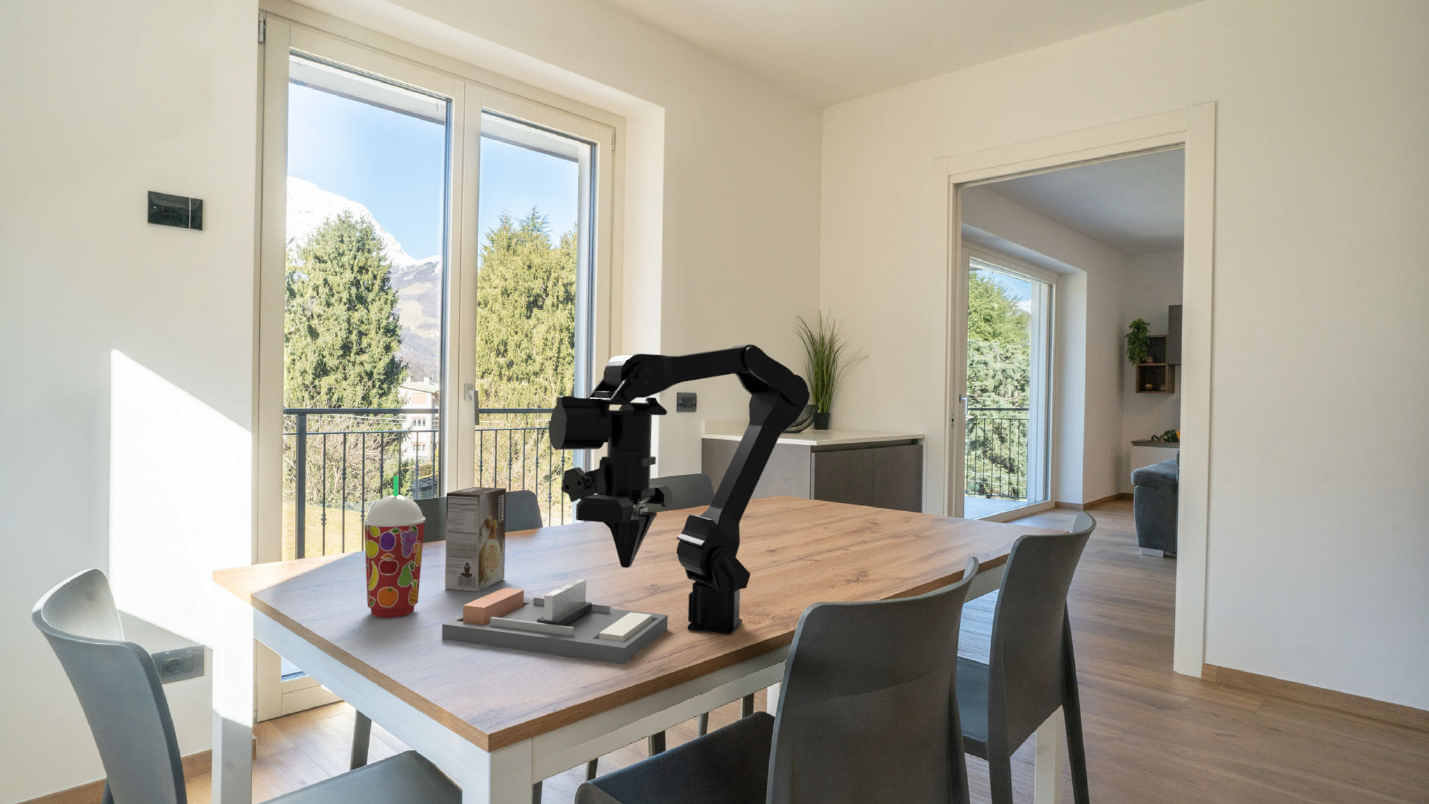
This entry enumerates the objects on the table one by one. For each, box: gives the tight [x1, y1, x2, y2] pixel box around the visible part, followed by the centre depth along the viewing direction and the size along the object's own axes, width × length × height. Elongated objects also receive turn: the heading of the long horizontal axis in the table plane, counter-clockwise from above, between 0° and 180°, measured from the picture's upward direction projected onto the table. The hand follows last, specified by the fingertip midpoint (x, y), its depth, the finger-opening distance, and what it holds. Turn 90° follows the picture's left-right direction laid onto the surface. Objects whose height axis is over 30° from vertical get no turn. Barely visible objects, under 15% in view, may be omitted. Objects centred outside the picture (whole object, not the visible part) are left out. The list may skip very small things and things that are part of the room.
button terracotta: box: [462, 587, 525, 625], centre depth 106 cm, size 3×10×2 cm, turn 163°
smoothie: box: [363, 475, 426, 619], centre depth 111 cm, size 8×8×20 cm
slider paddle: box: [537, 578, 593, 626], centre depth 103 cm, size 3×10×4 cm, turn 163°
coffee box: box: [444, 486, 507, 593], centre depth 129 cm, size 9×6×16 cm
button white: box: [599, 612, 652, 643], centre depth 100 cm, size 3×10×2 cm, turn 163°
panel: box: [441, 596, 669, 665], centre depth 103 cm, size 26×15×3 cm, turn 73°
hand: (625, 567), depth 100 cm, fingers closed
